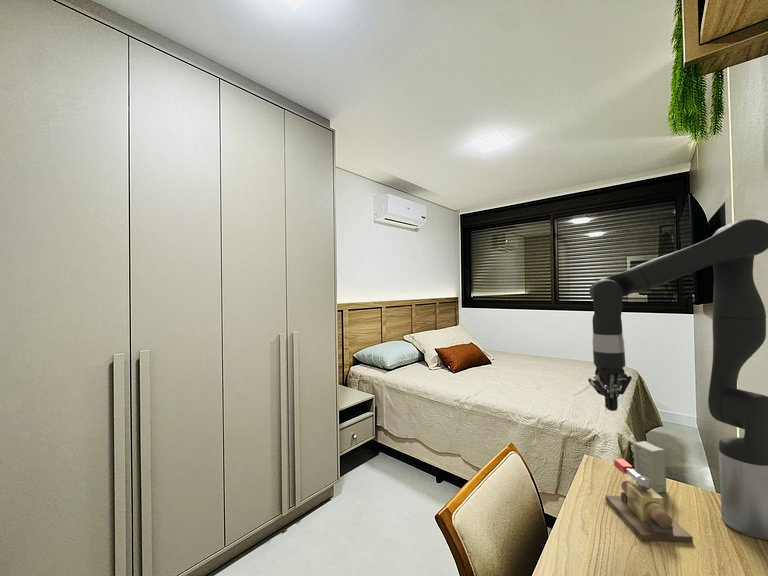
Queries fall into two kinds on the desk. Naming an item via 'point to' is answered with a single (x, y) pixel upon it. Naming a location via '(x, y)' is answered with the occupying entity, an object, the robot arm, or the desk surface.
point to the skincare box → (650, 464)
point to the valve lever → (632, 473)
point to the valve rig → (647, 515)
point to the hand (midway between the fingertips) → (611, 409)
